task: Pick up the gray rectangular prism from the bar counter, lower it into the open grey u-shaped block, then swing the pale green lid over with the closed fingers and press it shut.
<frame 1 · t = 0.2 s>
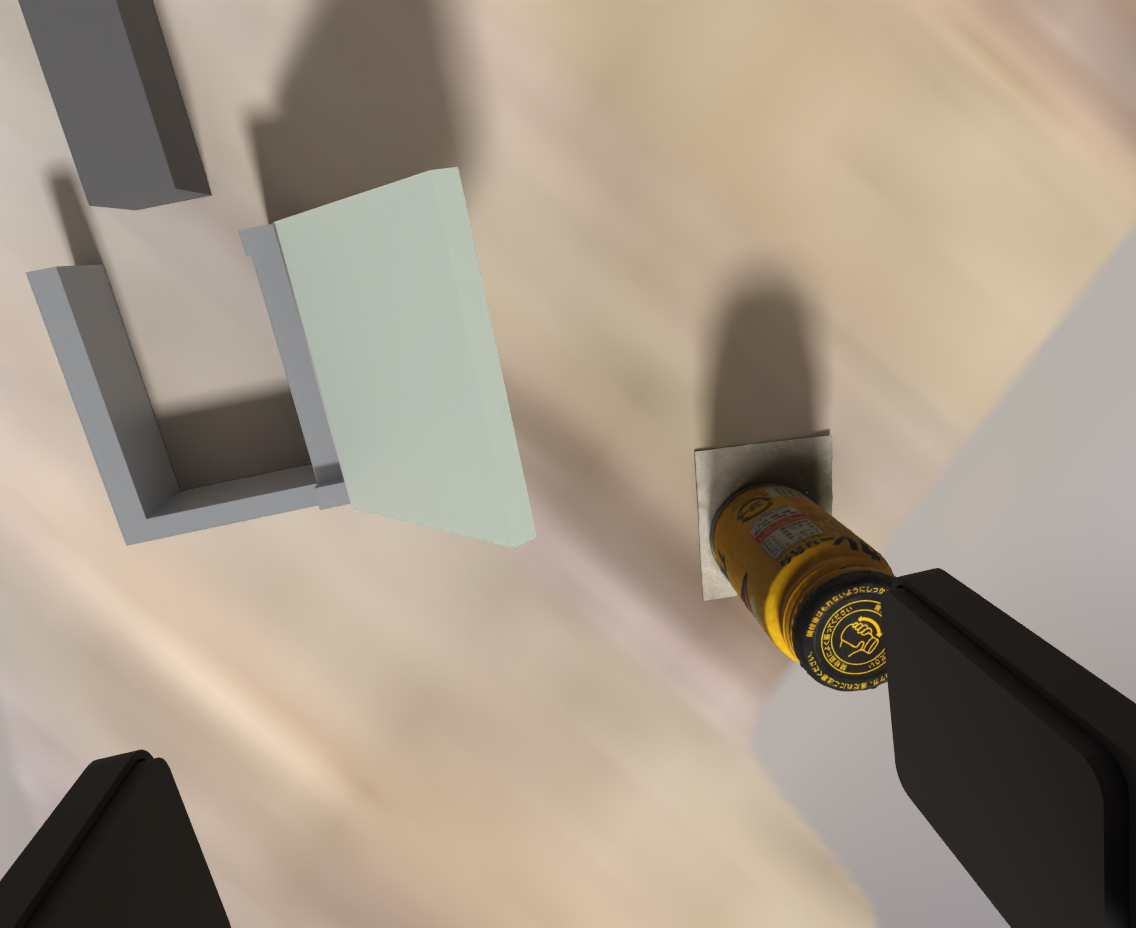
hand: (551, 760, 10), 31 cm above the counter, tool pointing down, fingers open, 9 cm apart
condiment: (763, 516, 43), on the counter
gray rectangular prism: (144, 108, 35), on the counter
grey u-shaped block: (226, 376, 38), on the counter
lid: (392, 368, 29), point 10 cm above the counter, hinge at 128.0°
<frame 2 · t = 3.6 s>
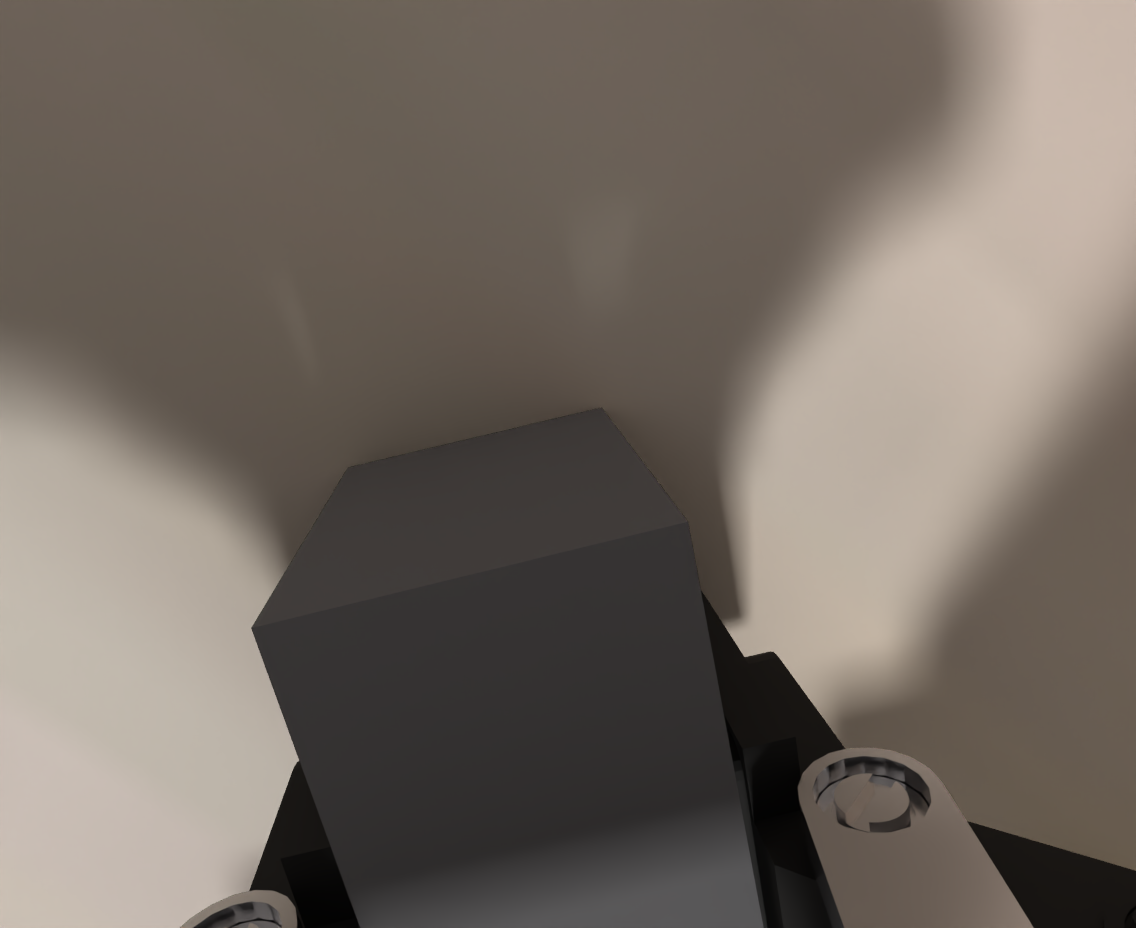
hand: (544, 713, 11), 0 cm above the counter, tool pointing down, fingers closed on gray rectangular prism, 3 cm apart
gray rectangular prism: (543, 698, 12), on the counter, touching gripper
when the fingers open (4 cm above the counter, at t = 7.3 s): gray rectangular prism drops 4 cm, resting in grey u-shaped block.
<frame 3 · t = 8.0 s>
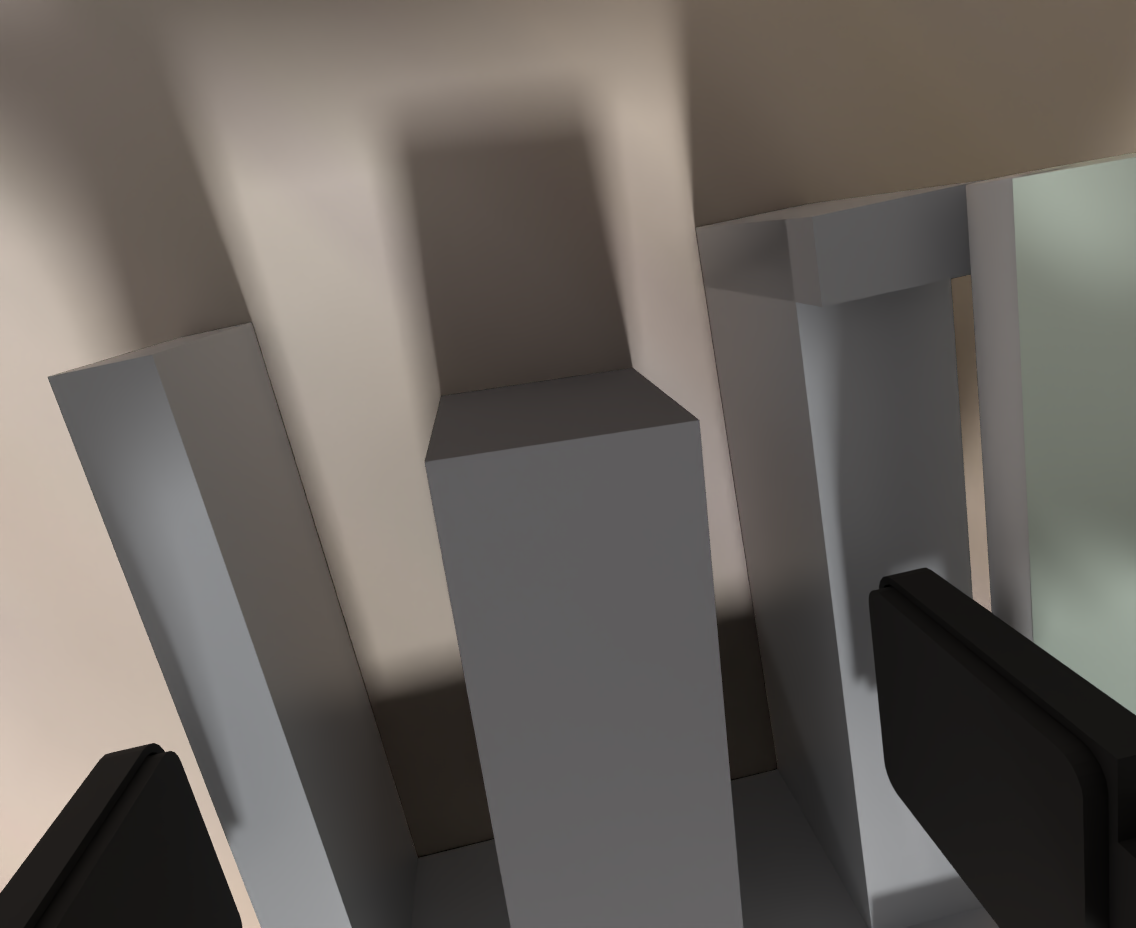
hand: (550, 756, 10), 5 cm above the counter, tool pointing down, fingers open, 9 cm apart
gray rectangular prism: (566, 586, 15), resting in grey u-shaped block
grey u-shaped block: (549, 594, 15), on the counter
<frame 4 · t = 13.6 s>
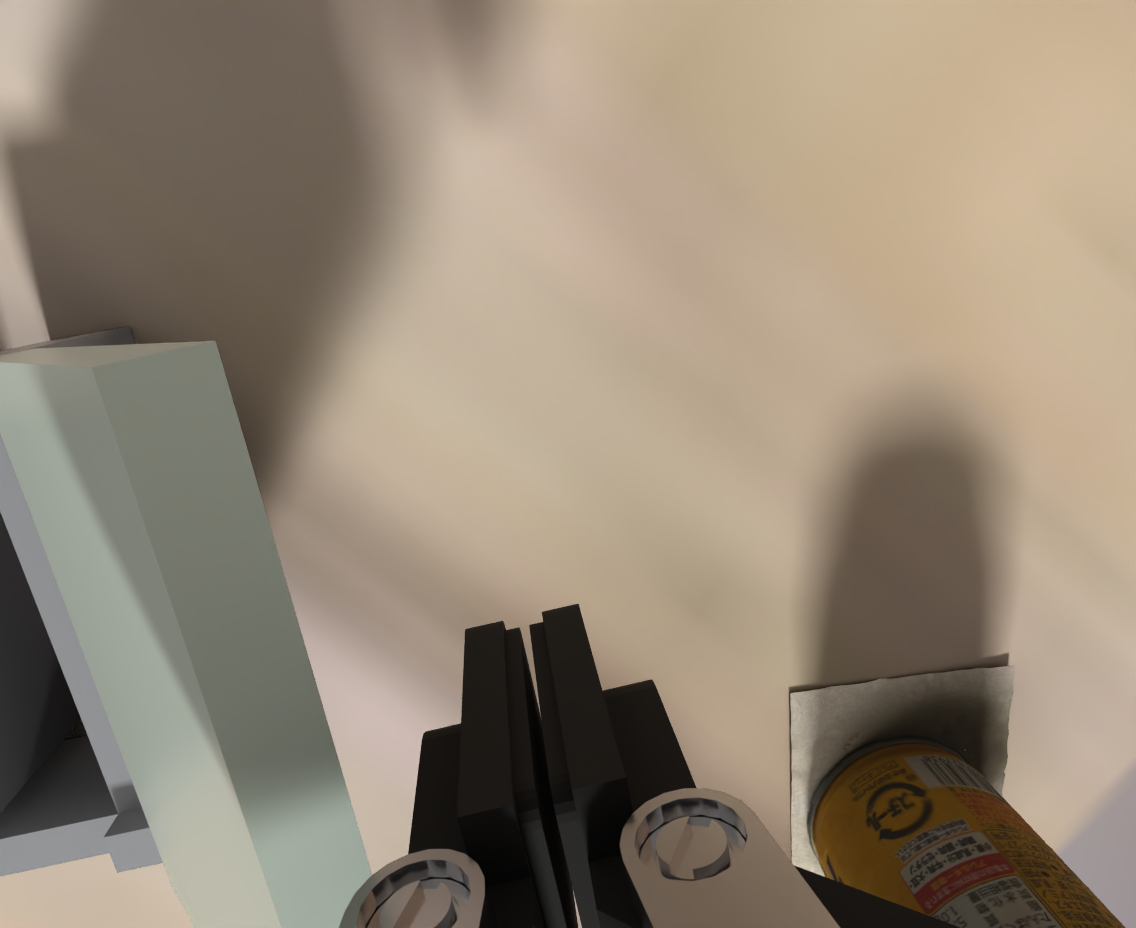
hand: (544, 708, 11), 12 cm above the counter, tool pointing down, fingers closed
condiment: (892, 784, 27), on the counter
gray rectangular prism: (0, 580, 22), resting in grey u-shaped block
lid: (179, 726, 13), point 10 cm above the counter, hinge at 125.0°, touching gripper
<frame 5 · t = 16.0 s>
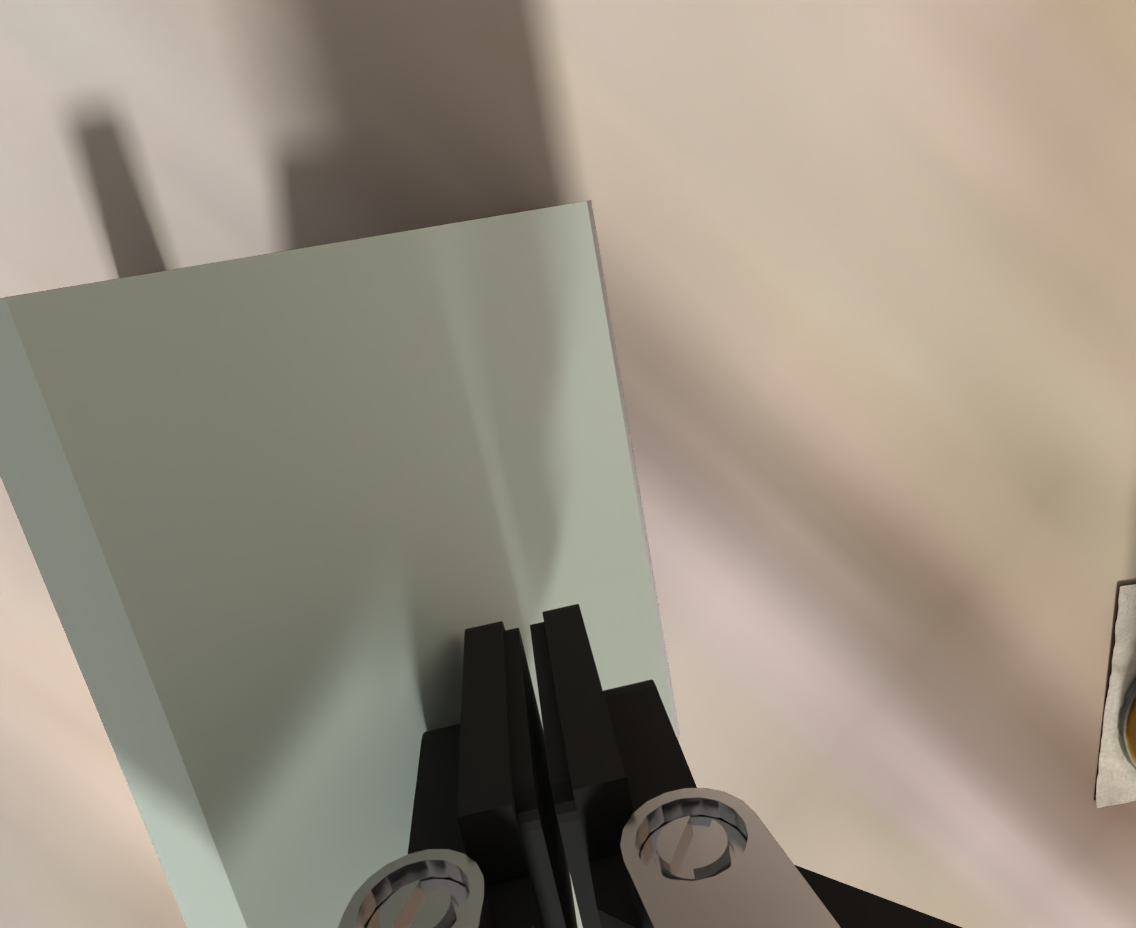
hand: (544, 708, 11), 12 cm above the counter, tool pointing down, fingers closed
lid: (495, 619, 13), point 10 cm above the counter, hinge at 58.7°, touching gripper
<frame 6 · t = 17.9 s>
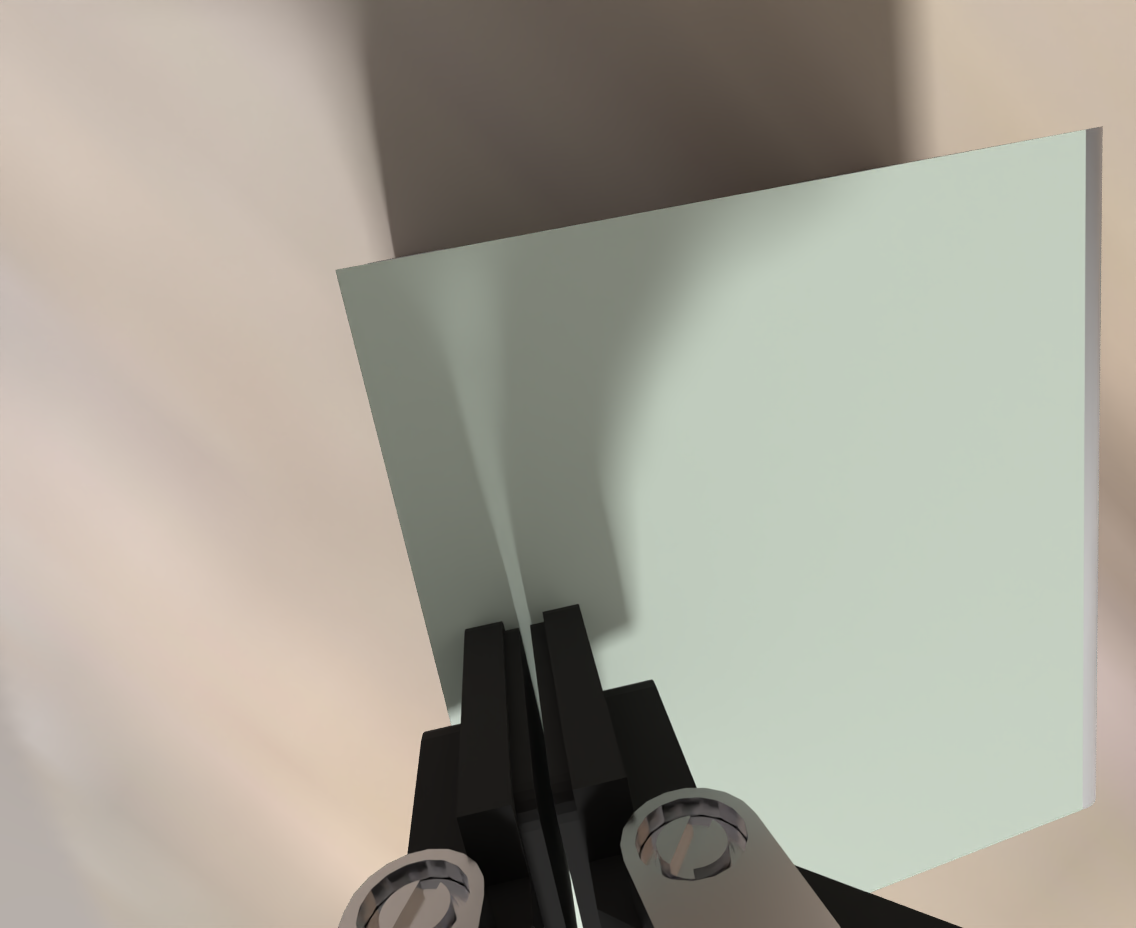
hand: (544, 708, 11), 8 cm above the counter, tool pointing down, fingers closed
lid: (793, 583, 13), point 6 cm above the counter, hinge at 9.0°, touching gripper
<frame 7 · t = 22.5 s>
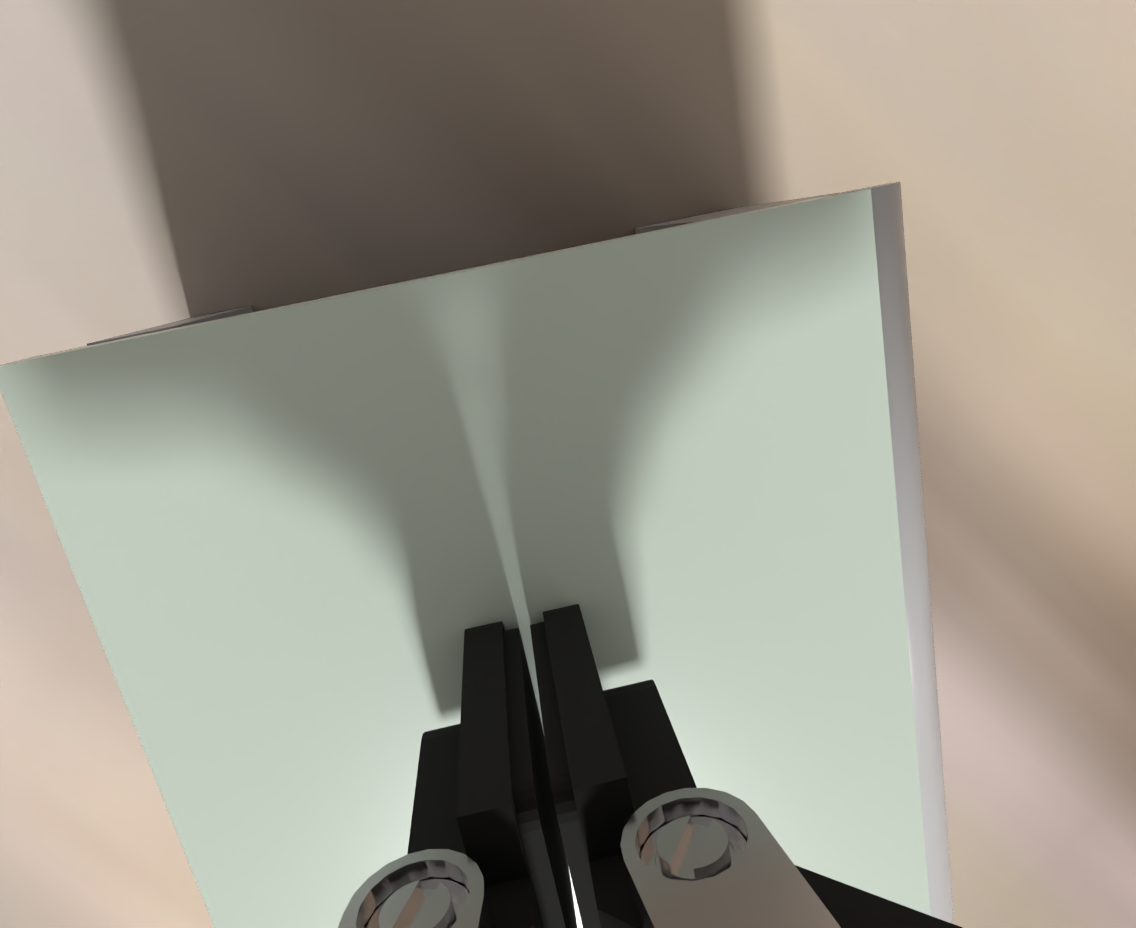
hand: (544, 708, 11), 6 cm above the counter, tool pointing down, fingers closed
grey u-shaped block: (509, 547, 17), on the counter
lid: (562, 677, 12), point 6 cm above the counter, hinge at 1.4°, touching gripper
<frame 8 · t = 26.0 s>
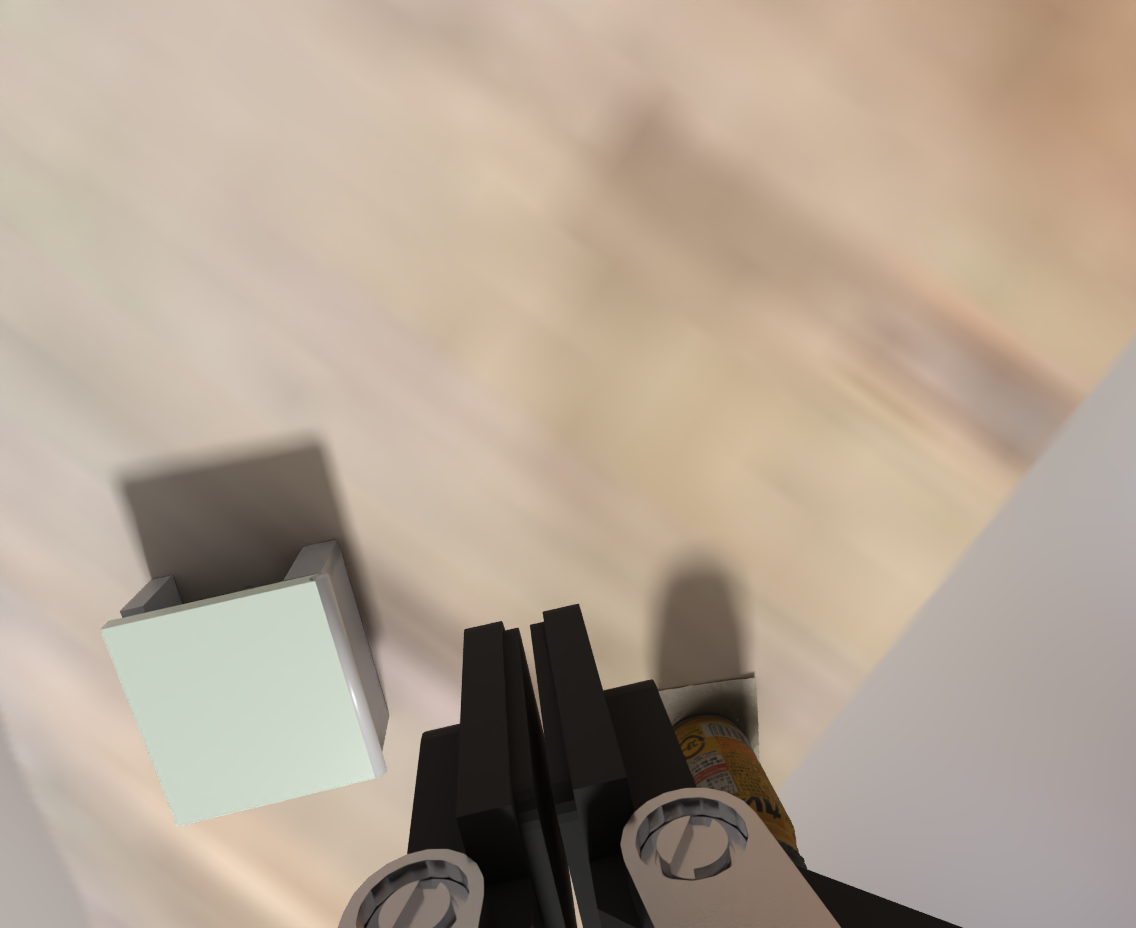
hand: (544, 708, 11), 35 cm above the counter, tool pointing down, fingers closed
condiment: (702, 738, 53), on the counter
grey u-shaped block: (268, 651, 48), on the counter
lid: (252, 701, 43), point 6 cm above the counter, hinge at 1.1°
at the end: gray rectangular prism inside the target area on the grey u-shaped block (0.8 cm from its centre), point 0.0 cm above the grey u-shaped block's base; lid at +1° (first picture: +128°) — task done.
